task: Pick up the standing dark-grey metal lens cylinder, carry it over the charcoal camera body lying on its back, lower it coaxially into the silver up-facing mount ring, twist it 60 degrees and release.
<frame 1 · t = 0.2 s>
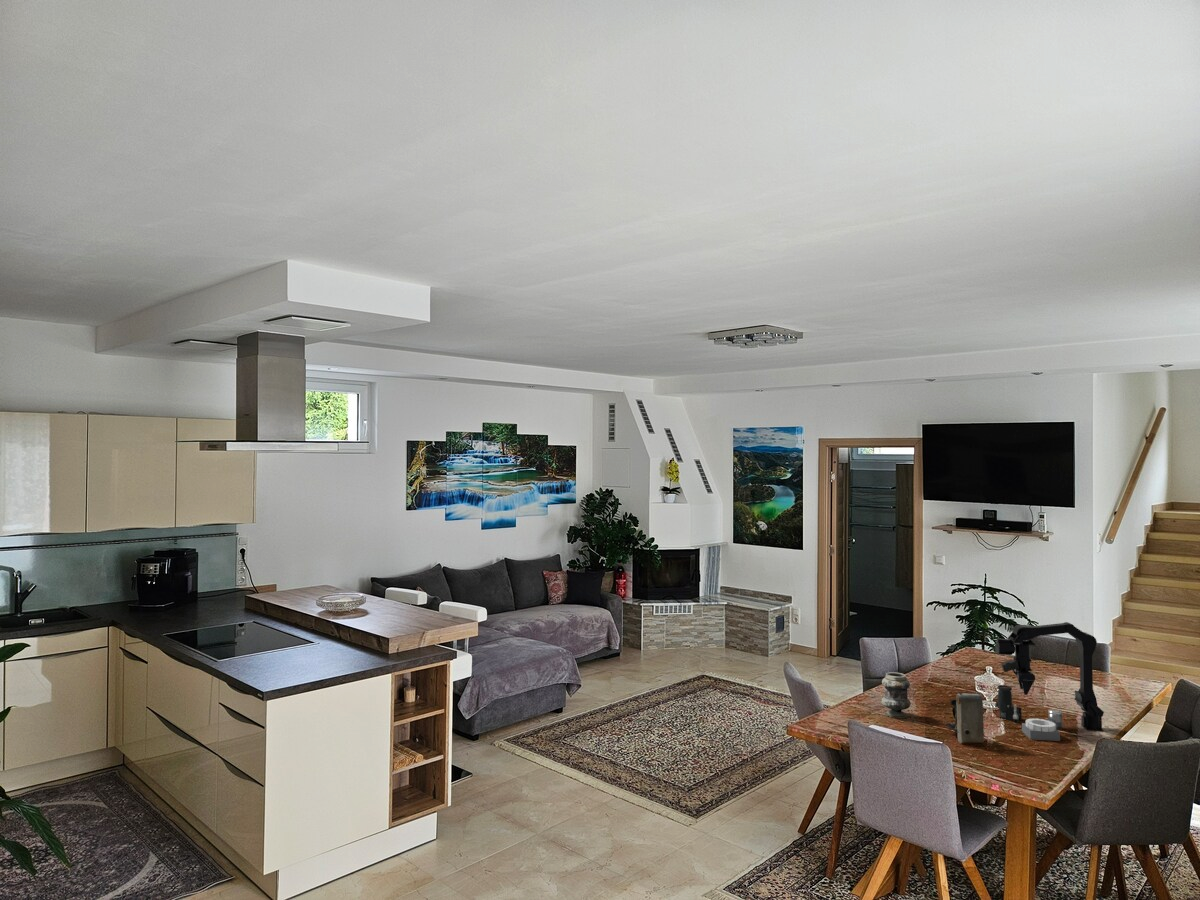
hand: (1023, 691, 337), 14 cm above the table, fingers open, 9 cm apart
lens: (1055, 727, 333), on the table
vintage camera: (963, 738, 320), on the table
grey stone urn: (896, 715, 350), on the table
scope: (1007, 719, 345), on the table
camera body: (1040, 736, 323), on the table
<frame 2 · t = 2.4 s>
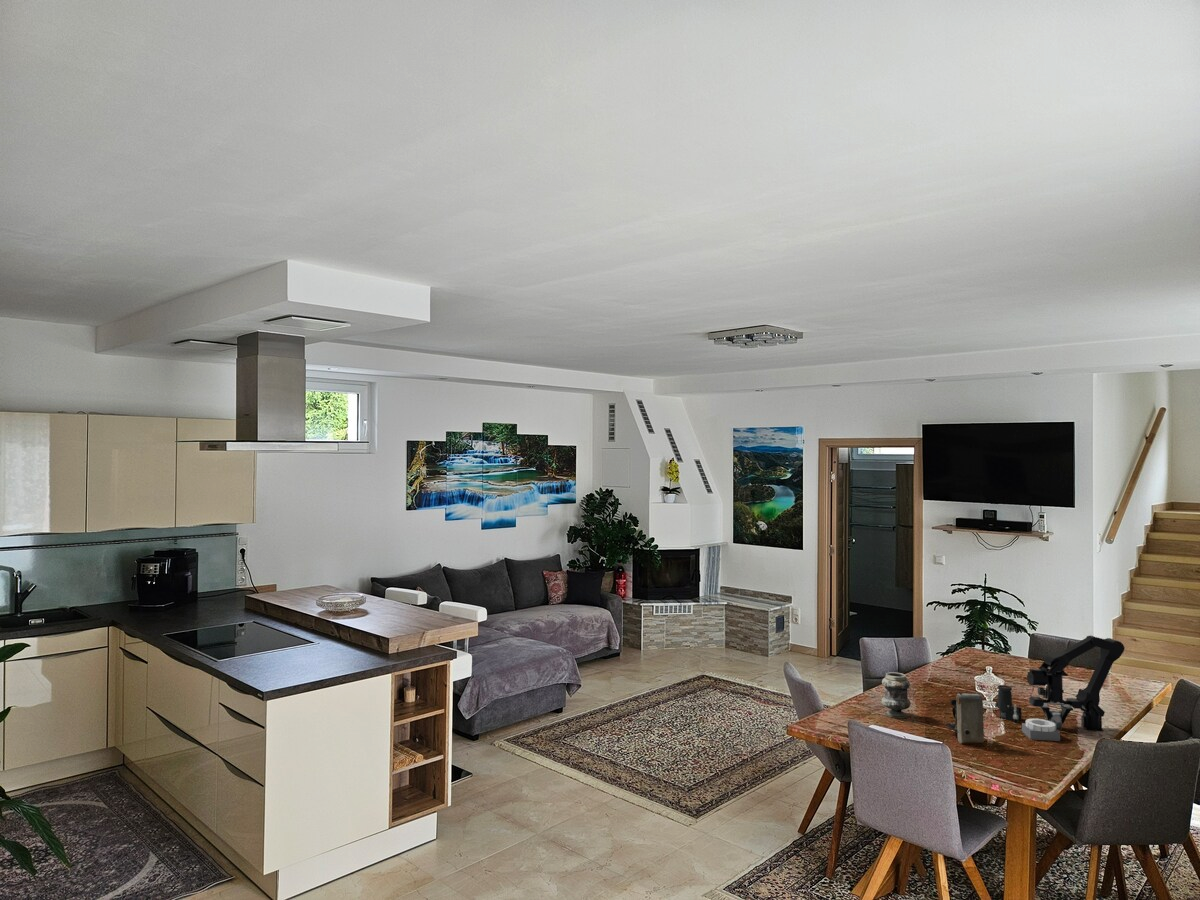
hand: (1055, 722, 333), 2 cm above the table, fingers closed on lens, 5 cm apart
lens: (1055, 727, 333), on the table, touching gripper
everything else where it was.
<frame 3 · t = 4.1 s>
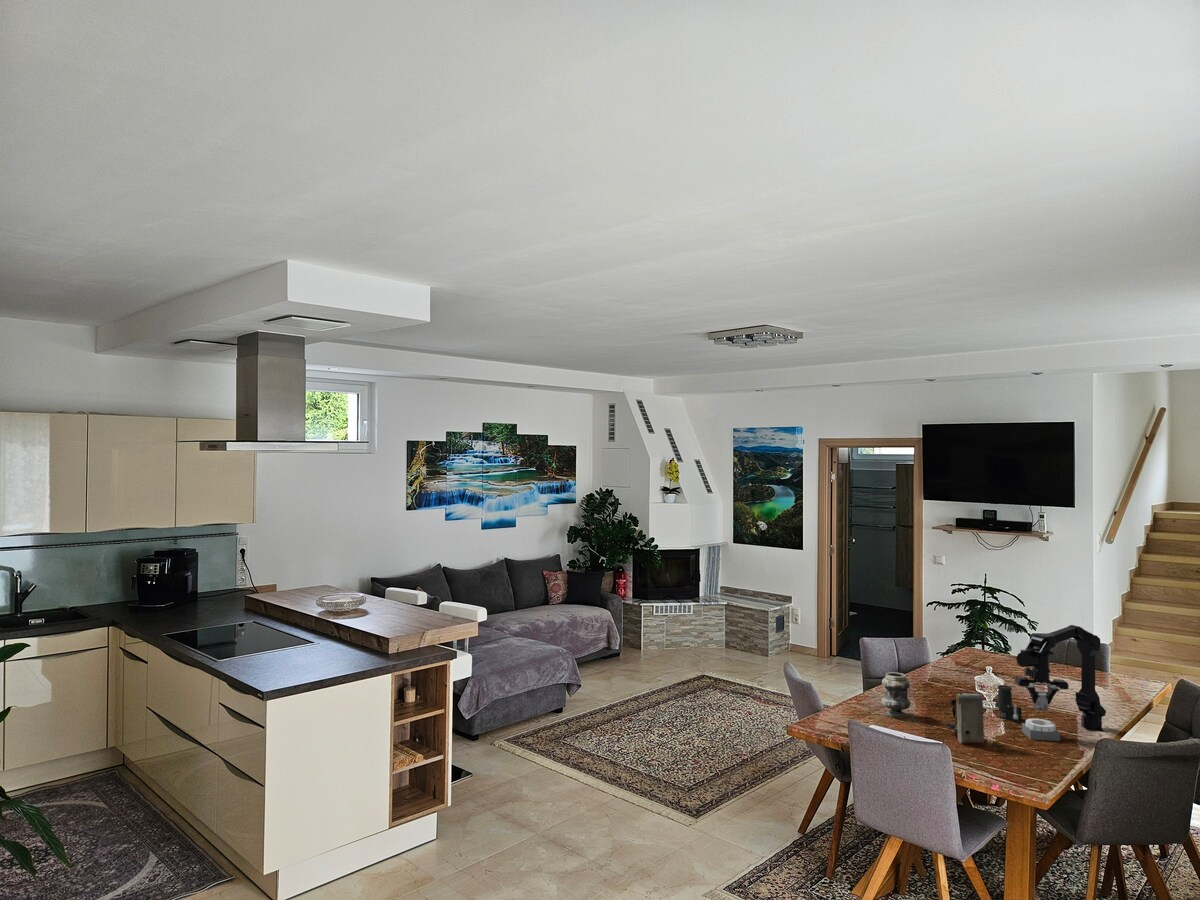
hand: (1041, 703, 325), 13 cm above the table, fingers closed on lens, 5 cm apart
lens: (1041, 708, 325), point 11 cm above the table, touching gripper
everything else where it was.
when the fingers open (6 cm above the table, at t = 6.1 s): lens stays where it is, resting on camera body.
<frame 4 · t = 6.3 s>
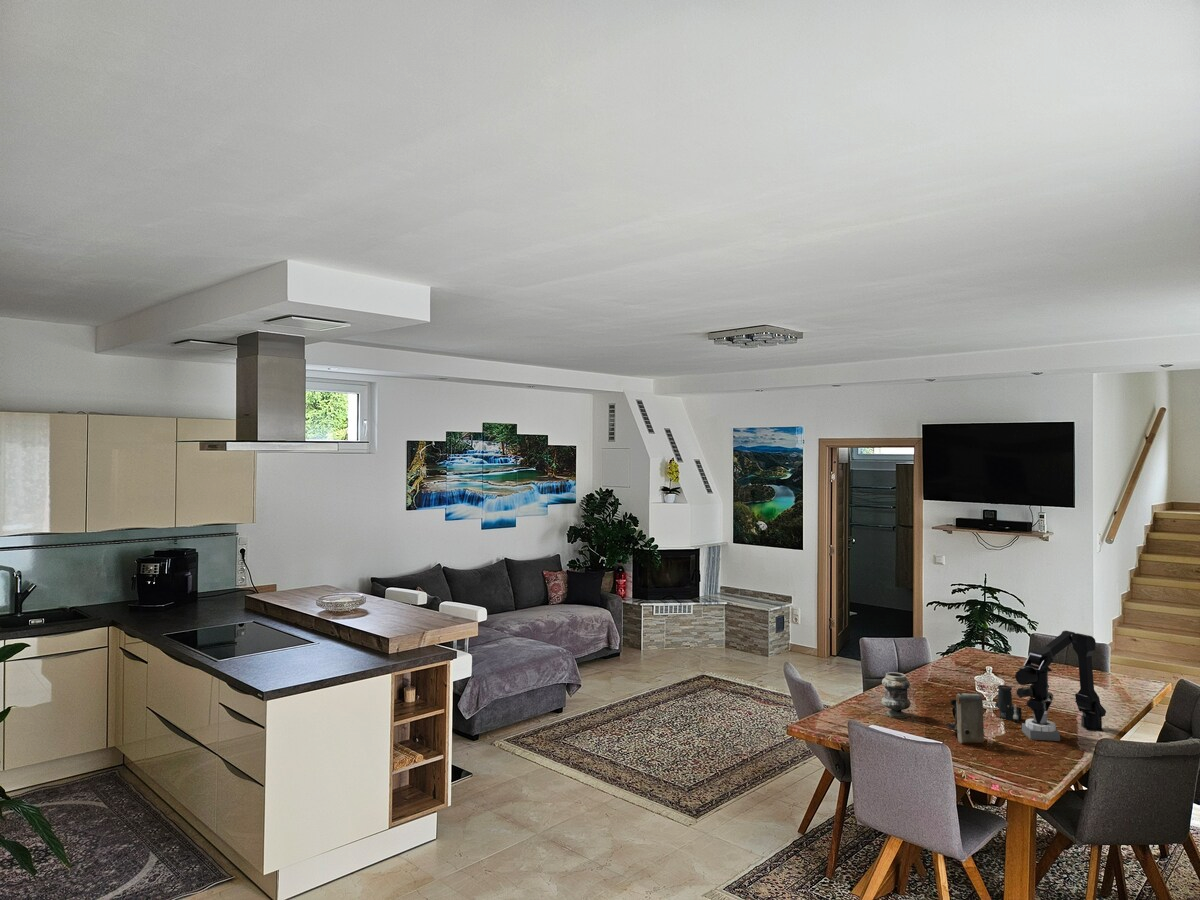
hand: (1040, 720, 323), 6 cm above the table, fingers open, 7 cm apart
lens: (1040, 727, 323), point 3 cm above the table, touching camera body
everything else where it was.
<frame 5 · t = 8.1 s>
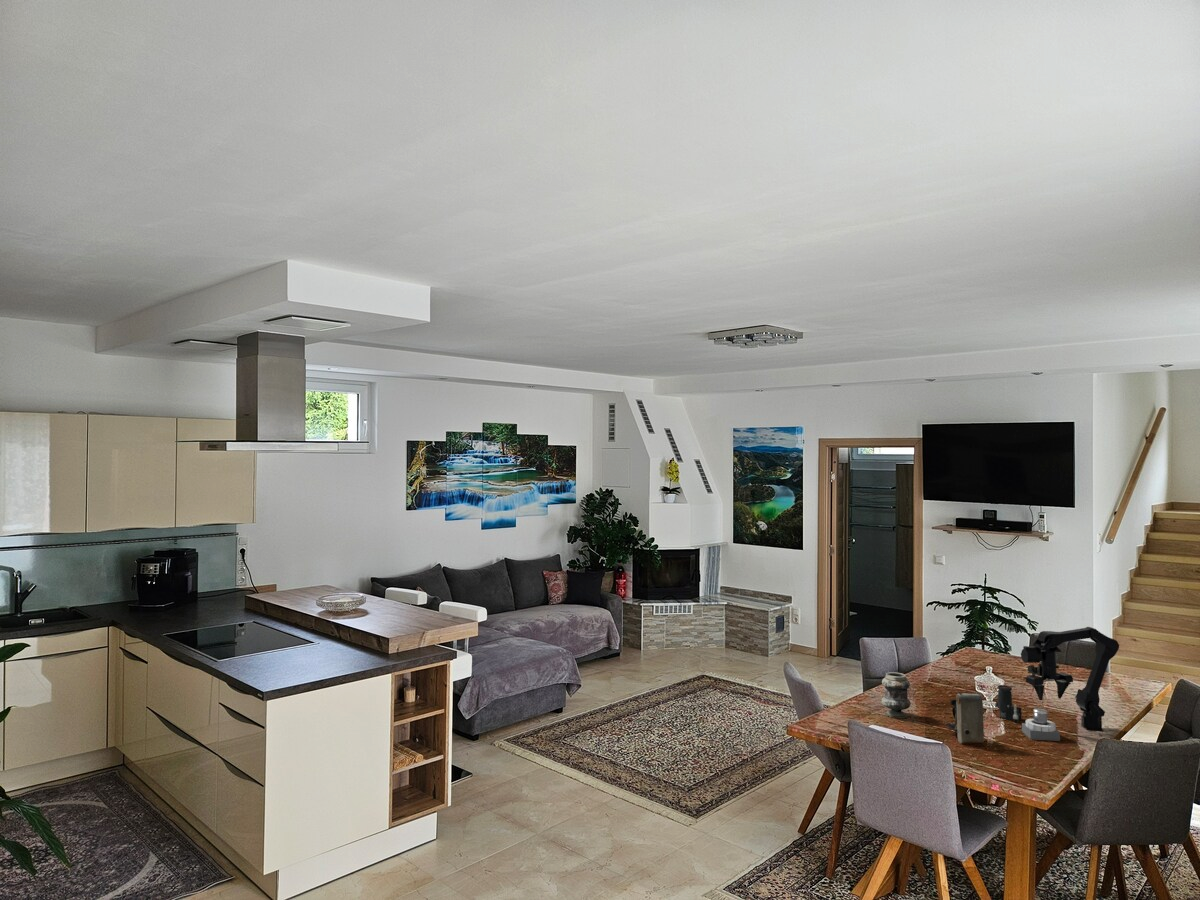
hand: (1050, 699, 333), 12 cm above the table, fingers open, 9 cm apart
nothing on the table moved.
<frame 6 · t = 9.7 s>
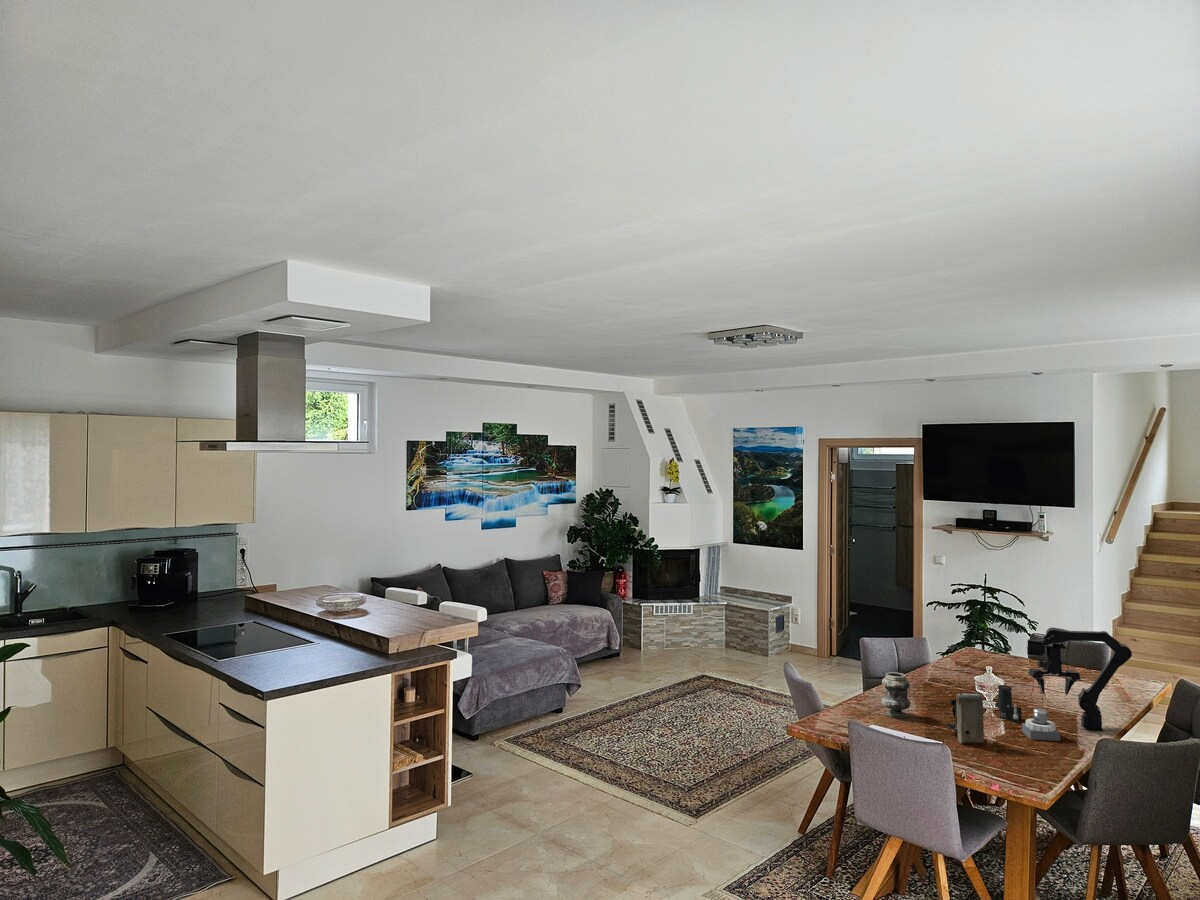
hand: (1054, 694, 339), 13 cm above the table, fingers open, 9 cm apart
nothing on the table moved.
at the end: lens 0.1 cm off-centre on the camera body, point 3.5 cm above the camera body's base; lens tilted 0°; the gripper is holding nothing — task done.
